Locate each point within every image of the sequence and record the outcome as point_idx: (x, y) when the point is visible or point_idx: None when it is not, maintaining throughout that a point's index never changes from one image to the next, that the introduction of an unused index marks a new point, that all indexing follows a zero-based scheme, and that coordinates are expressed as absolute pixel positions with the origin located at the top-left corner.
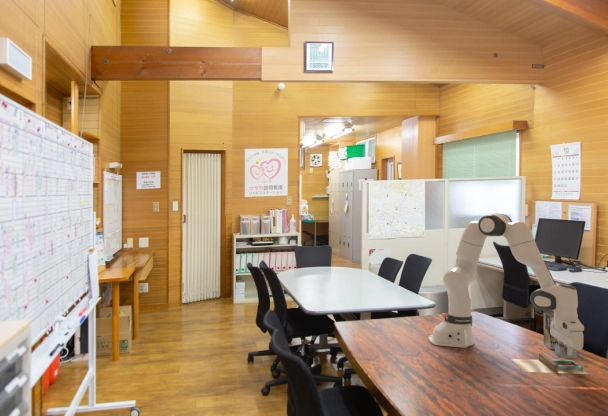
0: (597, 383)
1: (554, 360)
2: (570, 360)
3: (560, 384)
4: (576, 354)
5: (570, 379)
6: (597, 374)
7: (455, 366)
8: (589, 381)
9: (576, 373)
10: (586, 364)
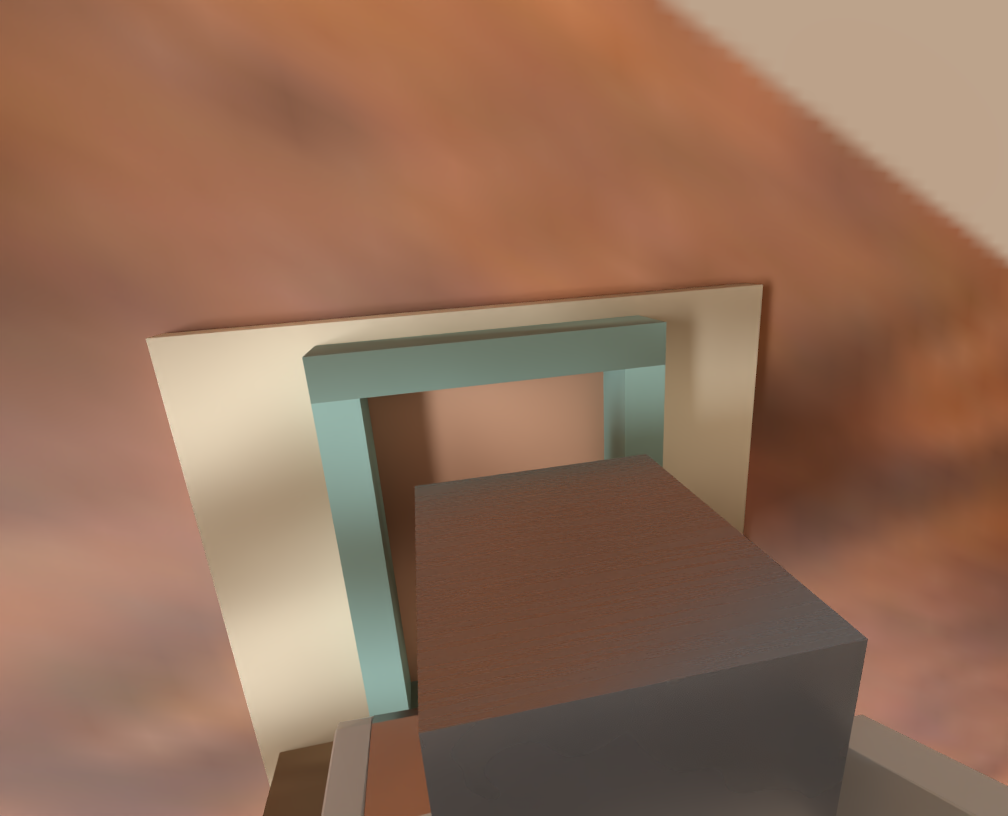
0: (956, 295)
1: (404, 675)
2: (329, 414)
3: (931, 677)
4: (691, 496)
5: (833, 558)
6: (678, 106)
7: None
8: (897, 368)
9: (741, 459)
10: (171, 24)
